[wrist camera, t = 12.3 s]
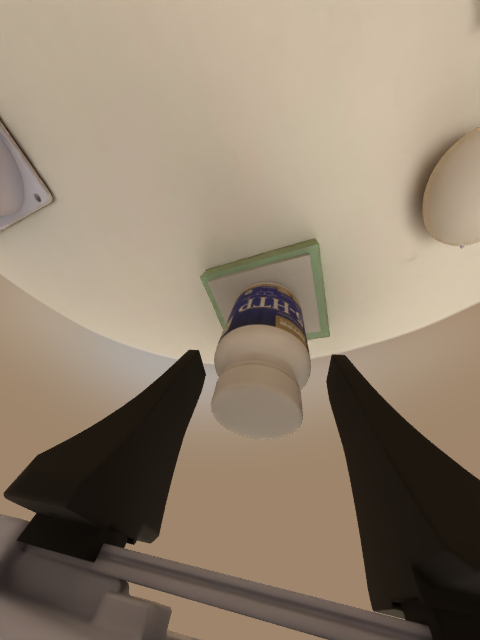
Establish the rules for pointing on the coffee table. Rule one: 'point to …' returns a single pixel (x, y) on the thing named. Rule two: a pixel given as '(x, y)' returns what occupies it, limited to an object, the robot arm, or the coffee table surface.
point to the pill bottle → (262, 364)
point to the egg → (455, 194)
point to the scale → (277, 267)
